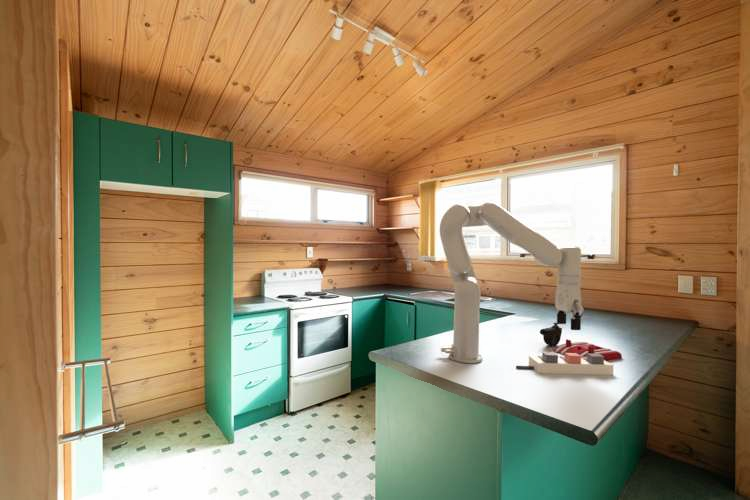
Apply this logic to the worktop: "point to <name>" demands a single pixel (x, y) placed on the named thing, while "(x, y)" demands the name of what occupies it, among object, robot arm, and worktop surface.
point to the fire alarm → (587, 350)
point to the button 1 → (549, 357)
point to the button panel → (568, 366)
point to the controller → (551, 335)
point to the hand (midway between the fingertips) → (568, 326)
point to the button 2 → (572, 358)
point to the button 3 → (595, 358)
